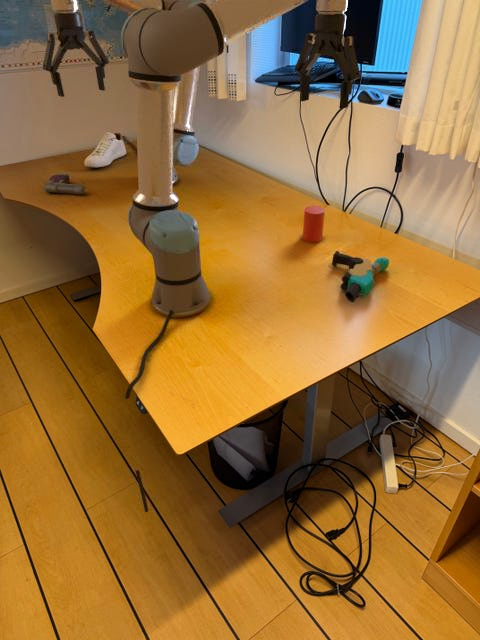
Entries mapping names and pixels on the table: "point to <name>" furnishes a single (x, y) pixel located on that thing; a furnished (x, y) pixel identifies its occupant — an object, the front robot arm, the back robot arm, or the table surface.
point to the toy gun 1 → (63, 185)
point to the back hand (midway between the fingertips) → (82, 93)
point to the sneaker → (106, 151)
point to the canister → (313, 223)
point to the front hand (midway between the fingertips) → (323, 104)
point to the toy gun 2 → (358, 274)
